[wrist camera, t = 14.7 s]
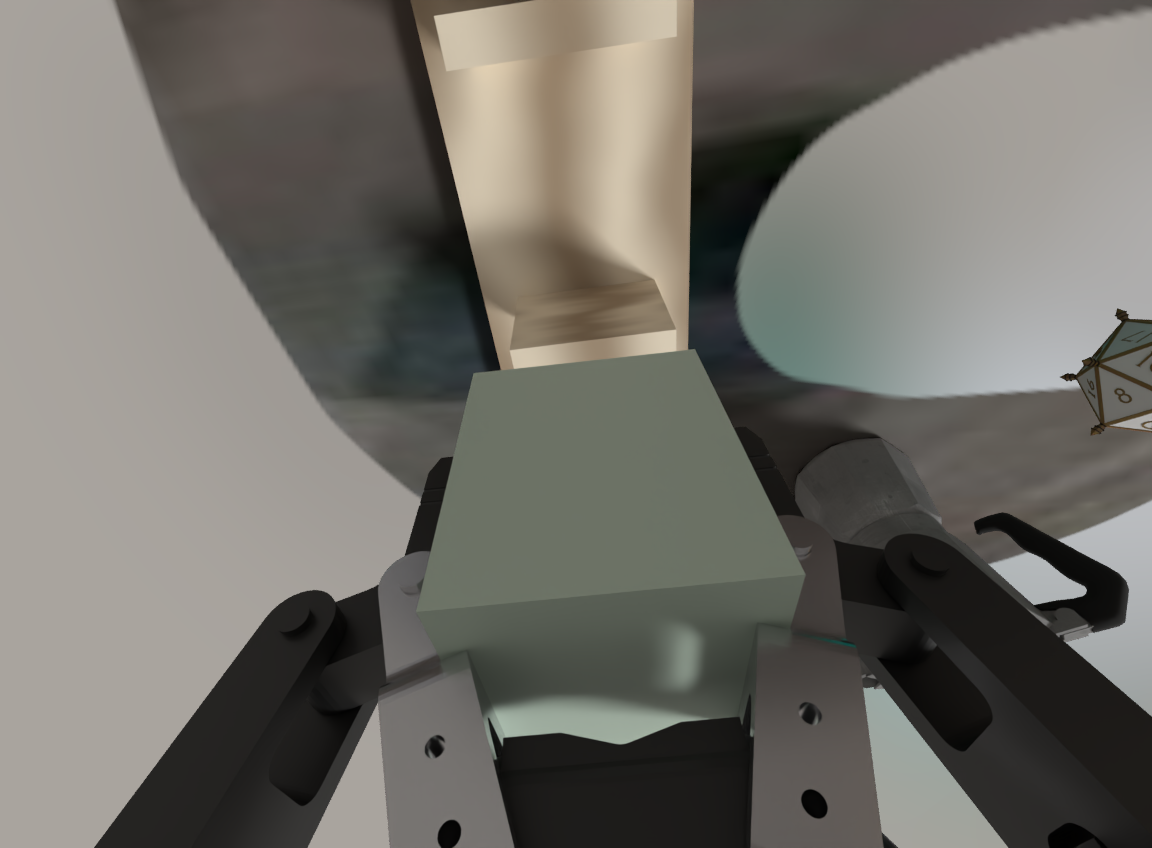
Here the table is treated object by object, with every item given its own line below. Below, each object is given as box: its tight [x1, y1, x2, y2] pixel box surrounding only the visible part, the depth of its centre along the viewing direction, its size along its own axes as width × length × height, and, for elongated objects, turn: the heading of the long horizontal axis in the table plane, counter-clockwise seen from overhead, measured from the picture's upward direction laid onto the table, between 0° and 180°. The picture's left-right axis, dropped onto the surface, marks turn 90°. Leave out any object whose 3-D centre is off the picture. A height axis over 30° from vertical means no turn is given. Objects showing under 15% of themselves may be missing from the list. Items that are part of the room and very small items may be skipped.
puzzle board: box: [411, 0, 694, 370], centre depth 22 cm, size 12×40×8 cm, turn 7°
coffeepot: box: [795, 438, 1129, 689], centre depth 33 cm, size 15×9×18 cm, turn 124°
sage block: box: [416, 349, 806, 744], centre depth 10 cm, size 5×5×6 cm
